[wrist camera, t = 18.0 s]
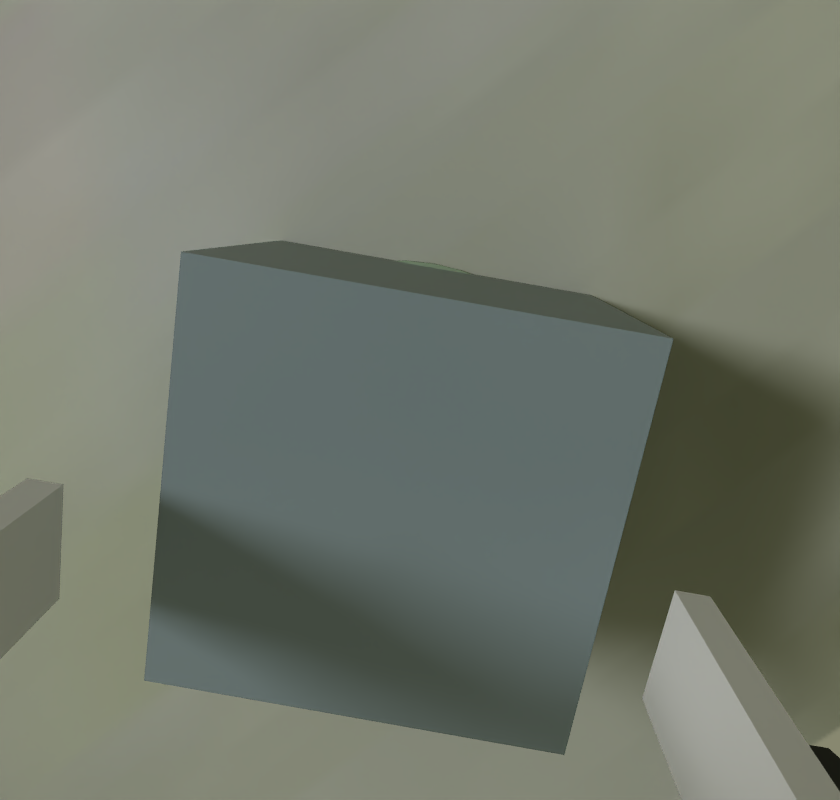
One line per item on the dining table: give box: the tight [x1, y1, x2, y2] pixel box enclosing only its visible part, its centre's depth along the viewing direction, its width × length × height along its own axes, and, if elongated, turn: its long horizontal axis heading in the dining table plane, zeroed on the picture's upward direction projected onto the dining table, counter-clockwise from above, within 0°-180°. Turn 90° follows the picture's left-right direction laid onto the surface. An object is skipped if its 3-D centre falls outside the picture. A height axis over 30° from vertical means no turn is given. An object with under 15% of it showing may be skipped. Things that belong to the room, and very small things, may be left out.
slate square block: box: [144, 241, 673, 755], centre depth 20 cm, size 10×10×9 cm
